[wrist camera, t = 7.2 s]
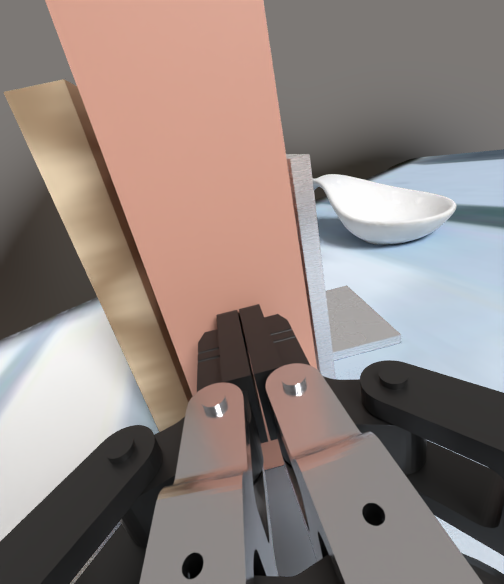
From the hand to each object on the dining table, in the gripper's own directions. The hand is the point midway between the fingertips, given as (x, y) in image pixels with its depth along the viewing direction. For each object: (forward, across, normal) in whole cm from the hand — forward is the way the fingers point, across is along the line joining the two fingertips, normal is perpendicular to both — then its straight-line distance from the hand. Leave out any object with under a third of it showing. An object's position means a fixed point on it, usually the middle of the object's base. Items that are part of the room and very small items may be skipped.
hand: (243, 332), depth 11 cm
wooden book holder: (+11, +1, +7) cm, 13 cm away
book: (+7, 0, +7) cm, 10 cm away
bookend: (+10, -6, +7) cm, 14 cm away
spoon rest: (+30, -17, +8) cm, 35 cm away
